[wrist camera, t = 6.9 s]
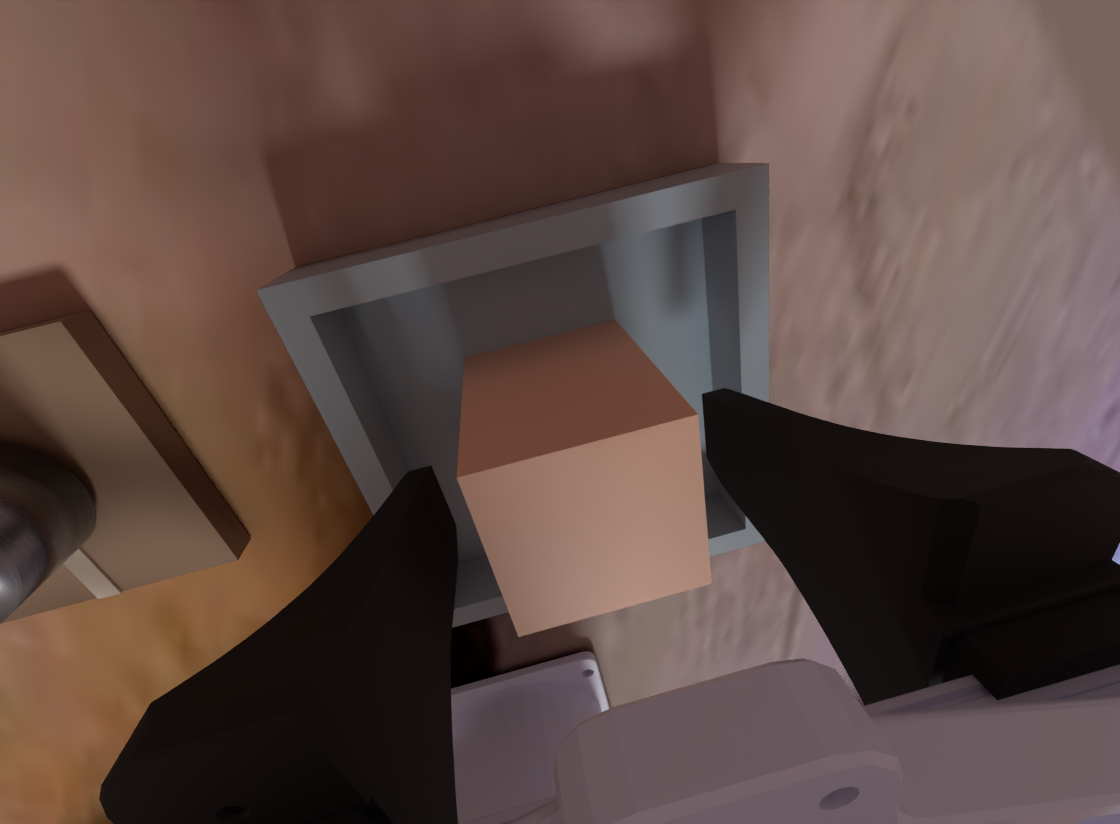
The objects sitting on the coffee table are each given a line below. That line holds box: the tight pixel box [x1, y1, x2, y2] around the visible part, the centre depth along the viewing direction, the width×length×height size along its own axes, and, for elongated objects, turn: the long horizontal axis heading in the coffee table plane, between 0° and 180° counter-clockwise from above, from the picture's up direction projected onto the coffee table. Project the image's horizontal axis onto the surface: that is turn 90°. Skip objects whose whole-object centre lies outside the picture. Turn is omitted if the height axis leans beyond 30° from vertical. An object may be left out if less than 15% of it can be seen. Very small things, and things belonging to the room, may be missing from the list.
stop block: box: [457, 320, 712, 637], centre depth 12 cm, size 4×4×6 cm
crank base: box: [0, 310, 251, 623], centre depth 14 cm, size 8×8×1 cm
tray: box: [256, 163, 769, 628], centre depth 14 cm, size 12×12×2 cm
